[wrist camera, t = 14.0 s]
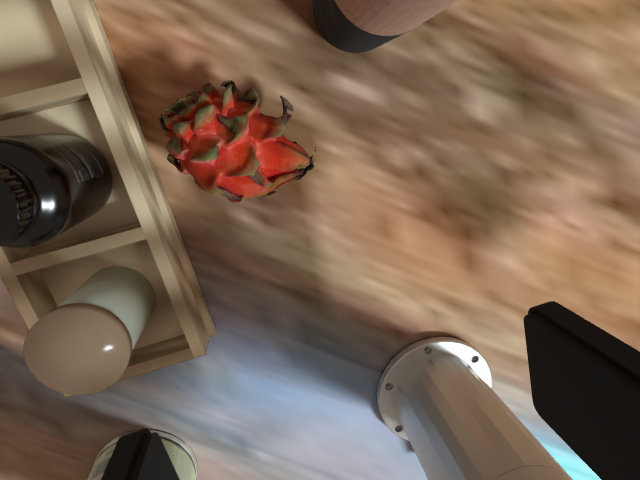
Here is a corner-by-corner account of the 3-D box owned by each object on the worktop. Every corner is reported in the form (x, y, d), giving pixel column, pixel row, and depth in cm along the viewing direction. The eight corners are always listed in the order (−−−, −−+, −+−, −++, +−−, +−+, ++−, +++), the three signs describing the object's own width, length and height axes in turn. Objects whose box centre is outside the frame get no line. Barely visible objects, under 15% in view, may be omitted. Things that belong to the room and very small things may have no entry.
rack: (215, 329, 39) (211, 352, 35) (79, 370, 38) (59, 399, 34) (62, -83, 29) (31, -116, 25) (-129, -41, 28) (-192, -69, 24)
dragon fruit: (165, 105, 35) (295, 152, 39) (138, 194, 32) (283, 234, 36) (179, 33, 28) (337, 100, 32) (146, 139, 25) (326, 197, 29)
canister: (168, 319, 37) (142, 378, 29) (97, 340, 37) (49, 407, 28) (142, 255, 35) (105, 297, 27) (66, 276, 35) (5, 326, 26)
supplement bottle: (12, 133, 31) (-127, 137, 20) (108, 132, 32) (27, 135, 21) (30, 221, 33) (-88, 272, 22) (120, 218, 34) (52, 264, 23)
